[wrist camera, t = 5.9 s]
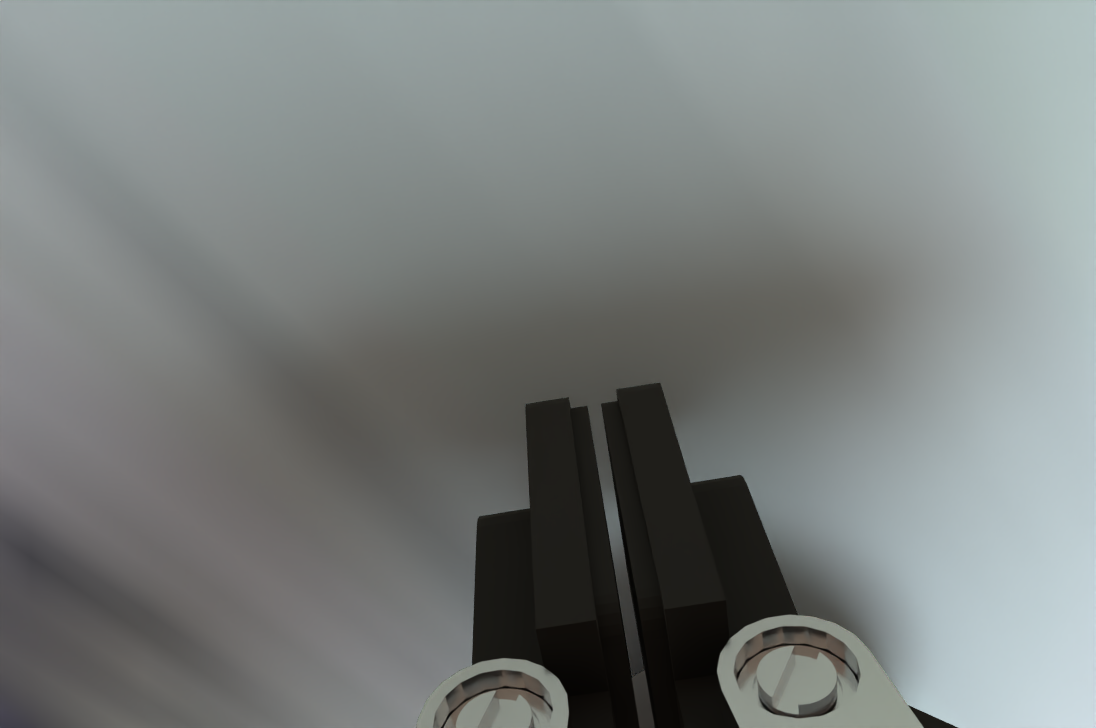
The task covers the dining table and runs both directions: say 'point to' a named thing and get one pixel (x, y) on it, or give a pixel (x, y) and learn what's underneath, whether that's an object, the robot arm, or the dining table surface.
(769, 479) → the dining table surface
